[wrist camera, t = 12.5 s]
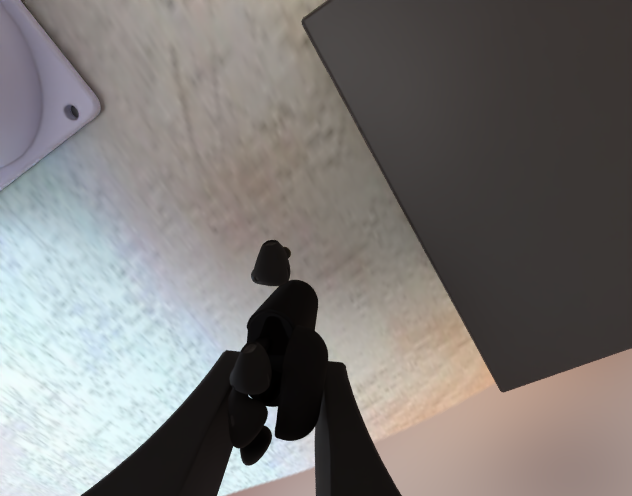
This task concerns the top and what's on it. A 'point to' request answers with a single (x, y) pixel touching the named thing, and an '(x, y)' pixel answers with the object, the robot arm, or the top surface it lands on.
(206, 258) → the top surface
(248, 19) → the top surface
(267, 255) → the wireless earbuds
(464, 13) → the case lid
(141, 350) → the top surface
